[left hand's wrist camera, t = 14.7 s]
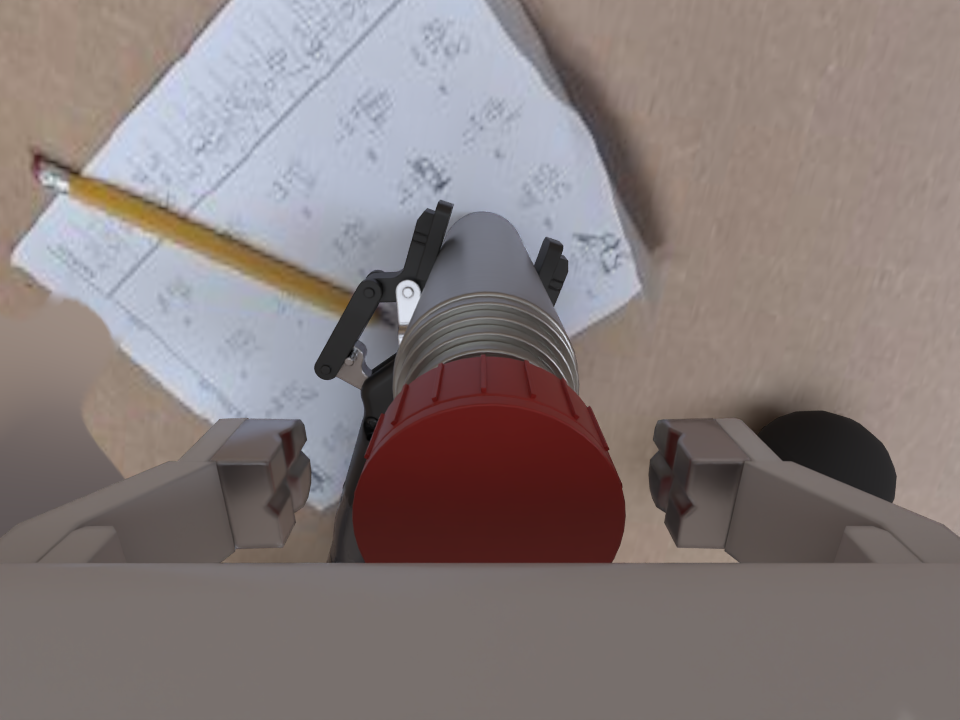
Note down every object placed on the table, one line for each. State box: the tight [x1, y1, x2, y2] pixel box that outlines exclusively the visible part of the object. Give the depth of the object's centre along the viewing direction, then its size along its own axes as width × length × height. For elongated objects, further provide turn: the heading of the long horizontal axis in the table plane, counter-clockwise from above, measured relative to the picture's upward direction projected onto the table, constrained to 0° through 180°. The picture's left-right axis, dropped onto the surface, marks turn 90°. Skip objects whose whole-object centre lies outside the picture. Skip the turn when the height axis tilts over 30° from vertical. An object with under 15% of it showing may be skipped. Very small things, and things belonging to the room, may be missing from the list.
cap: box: [352, 355, 626, 563], centre depth 9 cm, size 4×4×2 cm
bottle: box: [393, 212, 579, 399], centre depth 20 cm, size 5×5×24 cm
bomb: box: [757, 411, 897, 503], centre depth 31 cm, size 8×8×12 cm
